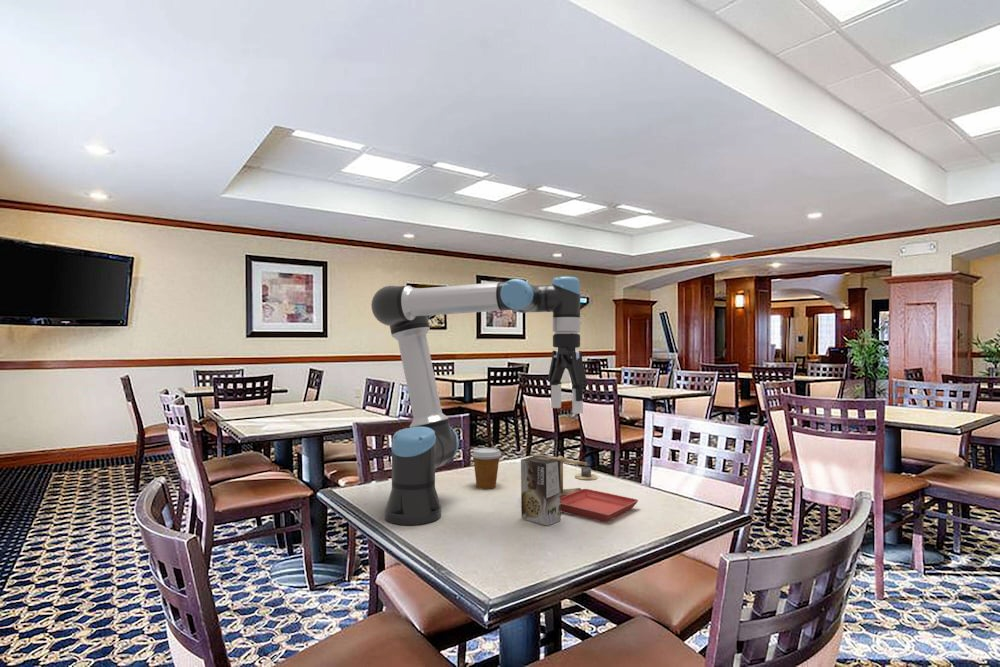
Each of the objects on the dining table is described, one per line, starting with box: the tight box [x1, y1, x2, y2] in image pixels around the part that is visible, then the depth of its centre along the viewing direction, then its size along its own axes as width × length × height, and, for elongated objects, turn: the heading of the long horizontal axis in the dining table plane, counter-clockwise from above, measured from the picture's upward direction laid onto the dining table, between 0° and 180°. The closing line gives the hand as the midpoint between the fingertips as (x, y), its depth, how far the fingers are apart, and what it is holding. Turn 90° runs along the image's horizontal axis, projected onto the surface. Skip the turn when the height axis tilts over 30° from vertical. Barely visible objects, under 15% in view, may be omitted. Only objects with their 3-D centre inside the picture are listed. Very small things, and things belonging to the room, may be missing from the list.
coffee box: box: [520, 455, 562, 526], centre depth 147 cm, size 9×6×16 cm
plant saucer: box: [560, 488, 639, 523], centre depth 155 cm, size 18×18×3 cm
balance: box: [532, 453, 598, 498], centre depth 168 cm, size 25×7×14 cm, turn 108°
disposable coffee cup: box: [471, 447, 502, 490], centre depth 180 cm, size 10×10×12 cm
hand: (566, 410), depth 151 cm, fingers open, 13 cm apart
